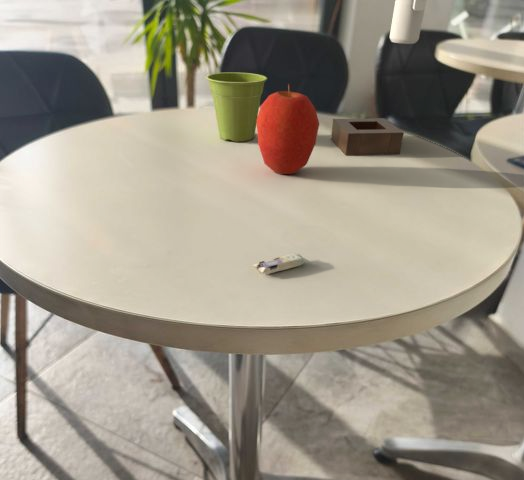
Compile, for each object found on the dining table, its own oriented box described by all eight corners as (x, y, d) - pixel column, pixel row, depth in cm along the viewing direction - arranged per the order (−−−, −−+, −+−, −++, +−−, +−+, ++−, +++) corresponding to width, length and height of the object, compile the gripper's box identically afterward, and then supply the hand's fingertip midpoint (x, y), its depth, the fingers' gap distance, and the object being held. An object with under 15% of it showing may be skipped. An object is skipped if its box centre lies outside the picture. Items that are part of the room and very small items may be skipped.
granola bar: (299, 257, 61) (299, 249, 61) (309, 265, 60) (310, 257, 59) (251, 269, 59) (251, 261, 58) (260, 277, 57) (260, 270, 57)
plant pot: (277, 138, 103) (279, 77, 96) (234, 149, 96) (234, 85, 89) (239, 127, 110) (238, 69, 103) (196, 136, 103) (193, 75, 96)
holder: (381, 138, 105) (384, 118, 103) (399, 154, 97) (404, 132, 94) (330, 139, 104) (333, 118, 101) (345, 155, 95) (348, 133, 93)
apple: (258, 182, 82) (259, 89, 74) (253, 163, 90) (254, 77, 82) (319, 181, 83) (327, 90, 75) (309, 162, 91) (316, 77, 82)
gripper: (486, -113, 64) (457, 15, 73) (421, -99, 80) (404, 4, 89) (440, -116, 63) (416, 14, 72) (384, -102, 79) (370, 3, 88)
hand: (409, 8), depth 80 cm, fingers closed on beverage can, 5 cm apart
